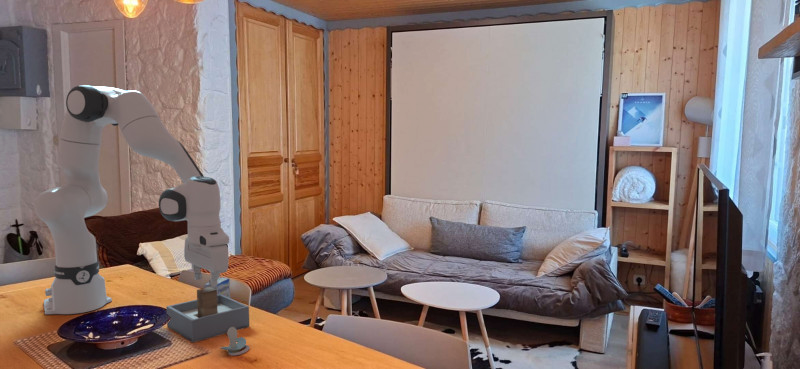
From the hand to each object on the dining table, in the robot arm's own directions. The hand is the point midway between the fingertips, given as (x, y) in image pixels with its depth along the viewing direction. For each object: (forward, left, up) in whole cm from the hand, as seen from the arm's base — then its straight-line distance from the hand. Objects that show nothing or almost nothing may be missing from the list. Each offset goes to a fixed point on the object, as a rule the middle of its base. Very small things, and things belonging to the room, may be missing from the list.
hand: (205, 282), depth 156 cm
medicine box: (-14, +10, -13) cm, 22 cm away
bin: (0, 0, -13) cm, 13 cm away
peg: (0, 0, -12) cm, 12 cm away
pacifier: (+22, -3, -13) cm, 26 cm away
